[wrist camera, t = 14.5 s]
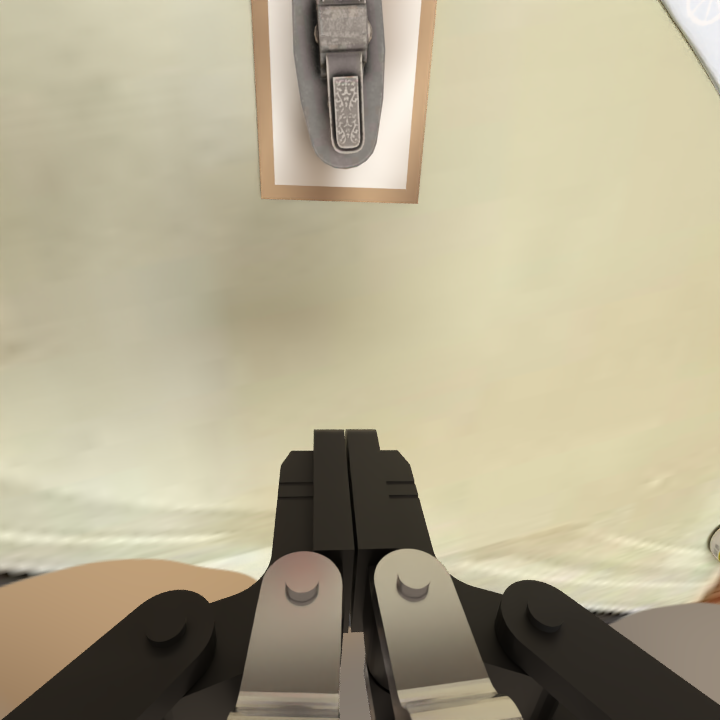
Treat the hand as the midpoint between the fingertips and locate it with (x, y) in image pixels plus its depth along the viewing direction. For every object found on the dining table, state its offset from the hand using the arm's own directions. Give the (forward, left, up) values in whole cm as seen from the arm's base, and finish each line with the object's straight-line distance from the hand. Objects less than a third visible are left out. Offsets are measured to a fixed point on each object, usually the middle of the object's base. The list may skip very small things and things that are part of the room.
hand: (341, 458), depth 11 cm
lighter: (0, +10, -19) cm, 21 cm away
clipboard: (+1, +10, -20) cm, 22 cm away
